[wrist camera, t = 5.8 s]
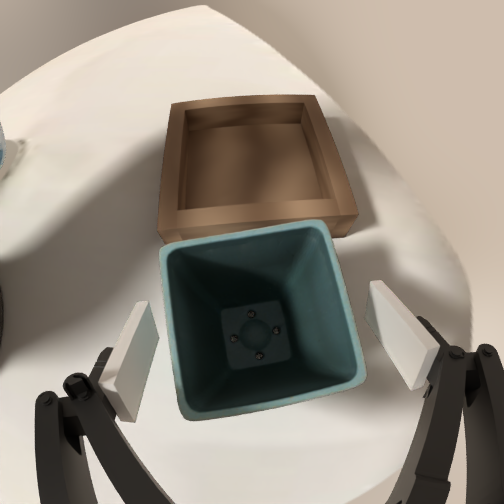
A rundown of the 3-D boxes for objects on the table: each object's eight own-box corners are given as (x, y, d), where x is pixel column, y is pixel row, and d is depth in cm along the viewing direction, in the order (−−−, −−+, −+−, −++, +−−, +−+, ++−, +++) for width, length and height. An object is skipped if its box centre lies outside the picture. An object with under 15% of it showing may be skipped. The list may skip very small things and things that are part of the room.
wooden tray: (170, 252, 24) (157, 230, 20) (178, 130, 29) (171, 103, 26) (344, 237, 24) (358, 214, 20) (309, 121, 30) (314, 95, 26)
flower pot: (324, 378, 20) (371, 382, 11) (209, 401, 19) (180, 423, 11) (299, 272, 23) (325, 215, 15) (191, 291, 22) (157, 244, 14)
